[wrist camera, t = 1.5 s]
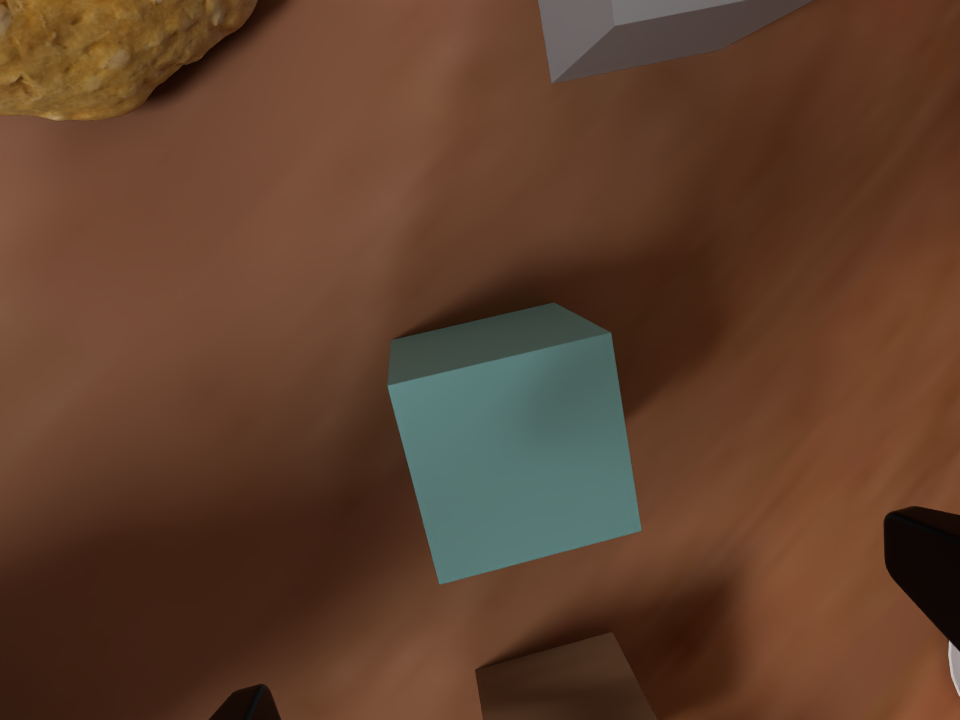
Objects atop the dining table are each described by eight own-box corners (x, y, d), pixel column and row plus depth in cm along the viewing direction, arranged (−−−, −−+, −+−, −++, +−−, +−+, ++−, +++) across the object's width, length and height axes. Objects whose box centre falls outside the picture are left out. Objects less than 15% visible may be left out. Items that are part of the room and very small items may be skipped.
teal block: (429, 489, 18) (439, 584, 14) (391, 339, 17) (387, 385, 12) (580, 451, 19) (641, 531, 14) (553, 302, 18) (611, 332, 13)
